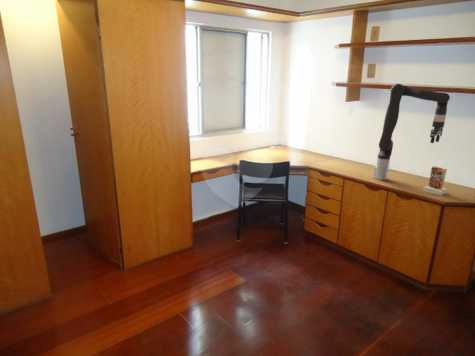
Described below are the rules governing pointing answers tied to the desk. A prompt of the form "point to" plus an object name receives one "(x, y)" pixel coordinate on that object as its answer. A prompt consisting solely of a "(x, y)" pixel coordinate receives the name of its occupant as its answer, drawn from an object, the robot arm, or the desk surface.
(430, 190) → the plinth
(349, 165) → the desk surface
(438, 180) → the candy box
